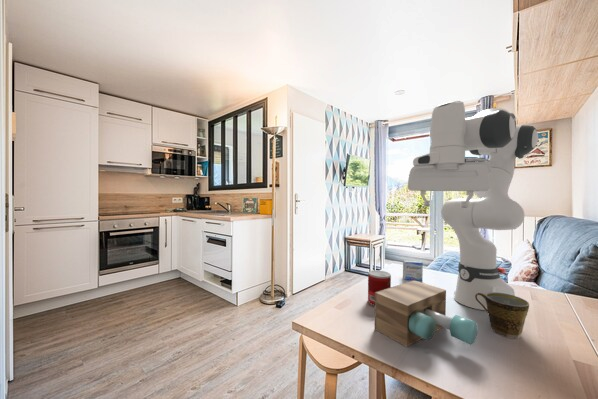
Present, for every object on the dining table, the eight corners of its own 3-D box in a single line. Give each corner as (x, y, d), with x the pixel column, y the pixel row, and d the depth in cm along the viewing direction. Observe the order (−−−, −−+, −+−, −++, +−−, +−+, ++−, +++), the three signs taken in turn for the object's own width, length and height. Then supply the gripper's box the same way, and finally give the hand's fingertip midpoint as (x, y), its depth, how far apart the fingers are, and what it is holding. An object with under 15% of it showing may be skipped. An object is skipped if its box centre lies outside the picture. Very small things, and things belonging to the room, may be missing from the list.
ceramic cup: (533, 335, 72) (534, 301, 72) (521, 346, 67) (522, 309, 67) (481, 316, 83) (482, 286, 83) (467, 325, 78) (468, 293, 78)
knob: (424, 318, 75) (425, 299, 75) (477, 340, 64) (477, 318, 64) (413, 323, 72) (414, 304, 72) (467, 347, 61) (467, 325, 61)
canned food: (391, 308, 89) (392, 277, 89) (368, 306, 91) (369, 275, 90) (388, 299, 96) (389, 271, 96) (367, 297, 98) (367, 269, 98)
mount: (413, 311, 86) (413, 280, 86) (460, 331, 74) (461, 294, 74) (374, 328, 75) (375, 292, 75) (422, 355, 63) (423, 312, 63)
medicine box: (404, 280, 118) (405, 262, 118) (402, 277, 123) (402, 259, 123) (422, 281, 117) (423, 262, 117) (419, 278, 122) (420, 260, 121)
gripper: (488, 158, 70) (486, 208, 71) (408, 161, 79) (407, 205, 80) (494, 155, 65) (492, 208, 65) (408, 159, 74) (406, 206, 74)
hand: (445, 207), depth 72 cm, fingers open, 8 cm apart
